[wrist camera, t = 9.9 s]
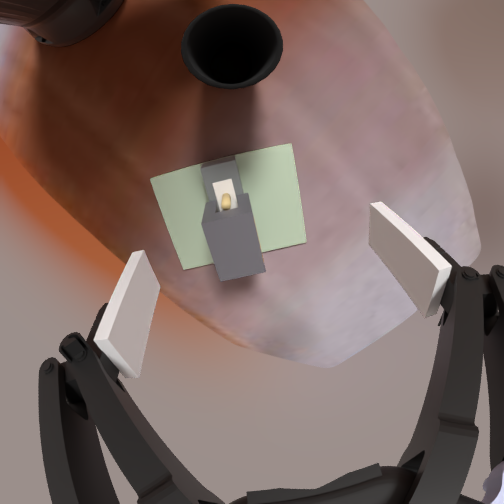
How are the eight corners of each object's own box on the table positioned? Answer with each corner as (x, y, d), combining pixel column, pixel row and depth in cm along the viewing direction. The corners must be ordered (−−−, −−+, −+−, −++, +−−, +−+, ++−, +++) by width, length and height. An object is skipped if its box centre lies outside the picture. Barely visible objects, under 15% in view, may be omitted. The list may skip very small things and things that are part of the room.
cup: (233, 108, 29) (236, 108, 18) (184, 72, 26) (160, 53, 15) (277, 64, 26) (303, 43, 16) (228, 27, 23) (228, -12, 13)
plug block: (205, 202, 31) (200, 224, 26) (248, 192, 31) (252, 211, 25) (221, 253, 34) (220, 281, 29) (260, 244, 34) (266, 271, 29)
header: (150, 178, 32) (135, 193, 26) (290, 143, 31) (304, 151, 26) (184, 268, 39) (177, 296, 33) (305, 240, 38) (318, 265, 33)
